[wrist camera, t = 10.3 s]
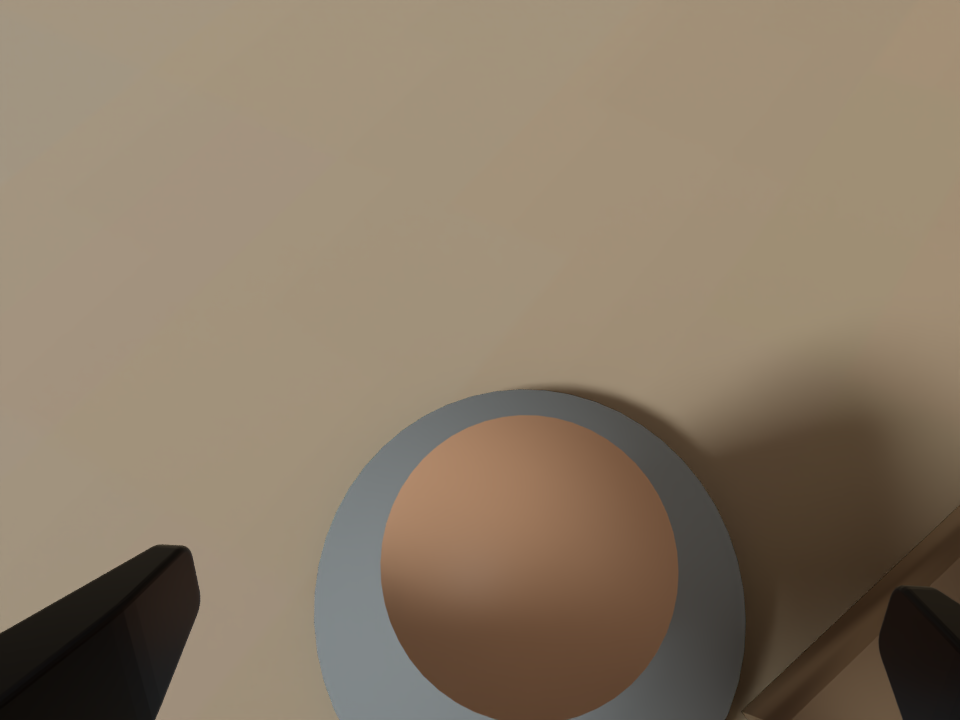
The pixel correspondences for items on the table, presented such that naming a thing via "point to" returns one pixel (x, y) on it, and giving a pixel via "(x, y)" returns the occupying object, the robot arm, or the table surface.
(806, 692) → the pocket block
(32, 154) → the table surface
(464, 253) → the table surface
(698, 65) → the table surface
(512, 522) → the post
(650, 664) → the slate mat
